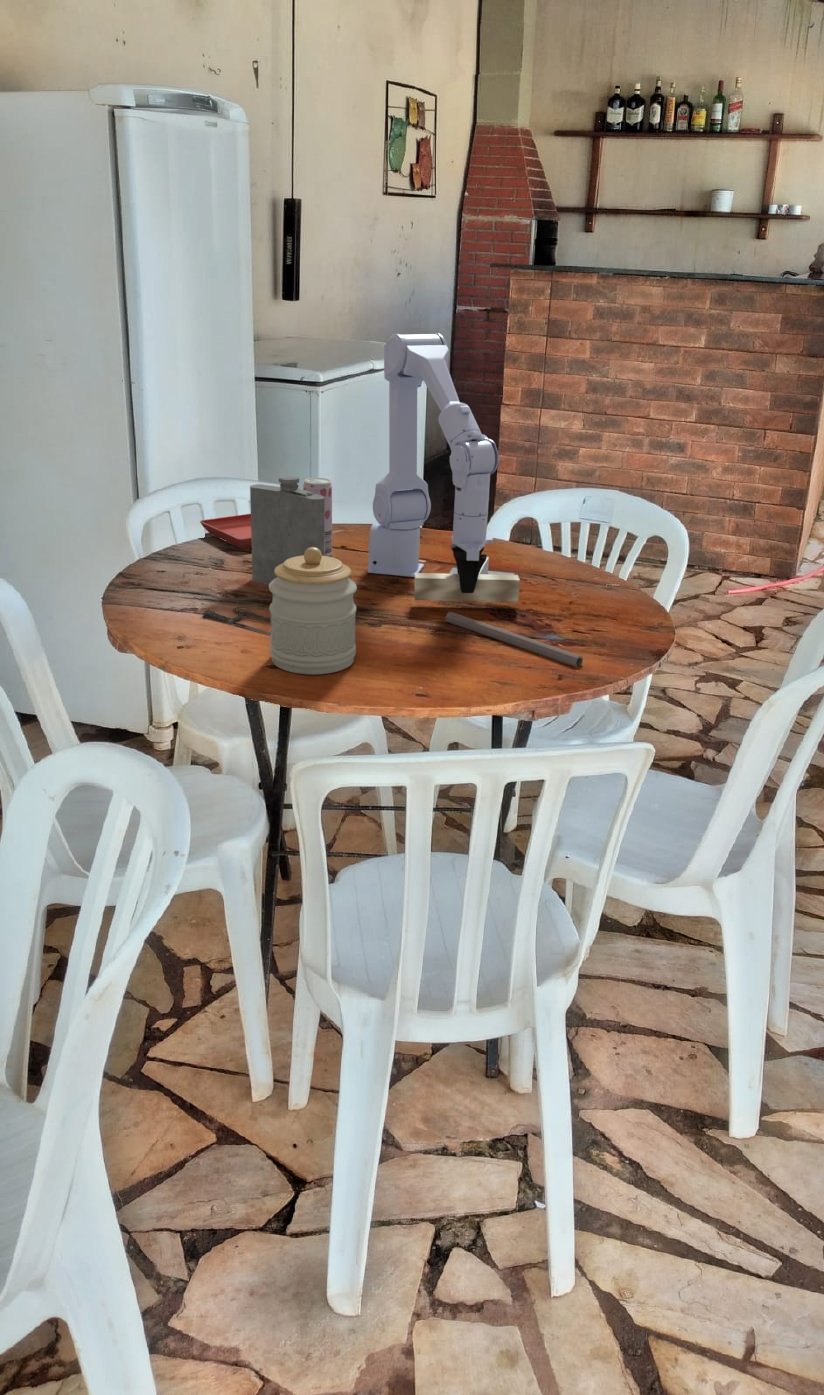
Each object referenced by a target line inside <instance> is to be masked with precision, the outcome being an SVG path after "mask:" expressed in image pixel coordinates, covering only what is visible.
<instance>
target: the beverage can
mask: <svg viewBox="0 0 824 1395" xmlns="http://www.w3.org/2000/svg"><path fill="white" fill-rule="evenodd" d="M302 486H303V487H302V488H303V489H302V490H305V491H309V492H312V493H314V494H317V495H321V496H324V497H325V527H324V556H328V557H331V556H332V554H333V485H332V480H330V479H329V478H325V477H324V478H323V477H310V478H306V479H304V480H303V485H302Z"/></svg>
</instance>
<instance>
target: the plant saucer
mask: <svg viewBox="0 0 824 1395" xmlns="http://www.w3.org/2000/svg"><path fill="white" fill-rule="evenodd" d="M199 523H200V524H201V526H202V527H203V528H204V530H206V531H207V532H208V533H209V534H210V536H213V537H214V538H215V537H216V538H218V539H219V538H222V539H224V540H226V541H227V542H226V541H225V542H226V543H228V542H229V543H228V544H230V543H231V544H230V545H232V544H233V545H232V546H234V545H235V546H234V547H236V546H237V547H236V548H238V547H239V549H240V548H241V549H240V550H243V549H247V550H251V549H250V548H252V543H251V513H245V514H237V515H232V516H231V515H230V516H224V517H217V518H208V519H201V520H200V521H199ZM236 533H237V534H236ZM230 534H234V535H230Z"/></svg>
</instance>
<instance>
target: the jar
mask: <svg viewBox="0 0 824 1395" xmlns="http://www.w3.org/2000/svg"><path fill="white" fill-rule="evenodd" d="M274 573H275V575H276V576H277V578H275V579H274V580H273V581H271V583H270V584H268V589H269V591H270V592H271V594H272V600H271V601H272V602H271V603H270V604H269V608H268V609H269V612H270V618H271V623H270V633H271V636H270V644H269V653H270V656H271V661H272V663H273V664H274V665H275V667H277V668H279V669H281V670H283V671H286V672H290V673H294V674H299V675H300V674H301V675H325V674H327V675H328V674H333V673H336V672H341V671H343V670H345V669H347V668H349V667H350V666H352V664H353V663H354V661H355V656H356V653H357V650H356V649H357V645H356V612H357V605H356V604H355V602H354V594H355V593H356V591H357V589H358V586H357V583H356V582H355V581H354V580H352V579H351V578H349V577H350V576H351V575H352V569H351V568H350V567H349V566H348V565H346V564H344V563H343V562H342V561H341V560H340V559H337V558H335V557H333V556H330V557H328V556H322V554H321V551H320V550H319V549H318V548H316V547H310V548H308V549H307V550H306V551H305V553H304V556H296V557H292V558H289V559H287V560H286V561H285V562H284V563H282V564H280V565H279V566H277V567H276V568H275V570H274Z"/></svg>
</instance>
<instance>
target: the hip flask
mask: <svg viewBox="0 0 824 1395" xmlns="http://www.w3.org/2000/svg"><path fill="white" fill-rule="evenodd" d="M278 482H279V483H280V485H279V486H277V485H276V486H275V485H269V484H261V483H257V484H251V485H249V490H250V491H249V495H250V497H249V499H250V500H249V502H250V514H251V543H252V549H251V570H252V571H251V574H252V575H251V576H252V577H251V578H252V582H253V583H259V584H264V585H269V584H270V583H271V581H273V580H274V579H275V578H277V576H276V575H275V573H274V570H275V568H276V567H277V566H279V565H280V564H282V563H284V562H285V561H286V560H287V559H289V558H292V557H296V556H304V553H305V551H306V550H307V549H308V548H310V547H316V548H318V549H319V550H320V551H321V554H322V556H324V527H325V497H324V496H321V495H317V494H314V493H312V492H309V491H305V490H303V489H302V488H299V483H300V477H299V476H296V475H281V476H278Z"/></svg>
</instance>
